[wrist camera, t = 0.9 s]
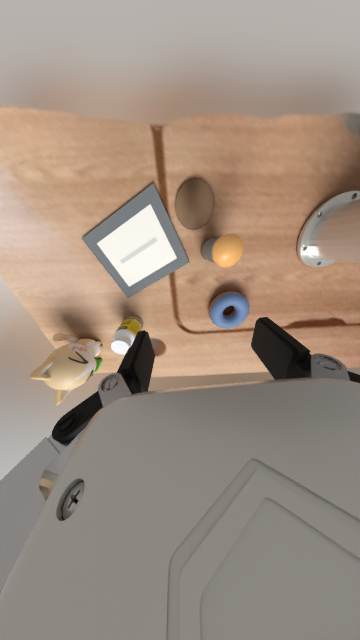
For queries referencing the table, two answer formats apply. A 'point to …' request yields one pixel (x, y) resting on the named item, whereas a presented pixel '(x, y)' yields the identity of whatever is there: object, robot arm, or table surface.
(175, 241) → the grey picture frame
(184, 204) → the coaster
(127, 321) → the supplement bottle
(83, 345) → the kitten
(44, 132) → the table surface
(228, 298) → the doughnut
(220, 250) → the marker
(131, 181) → the table surface
